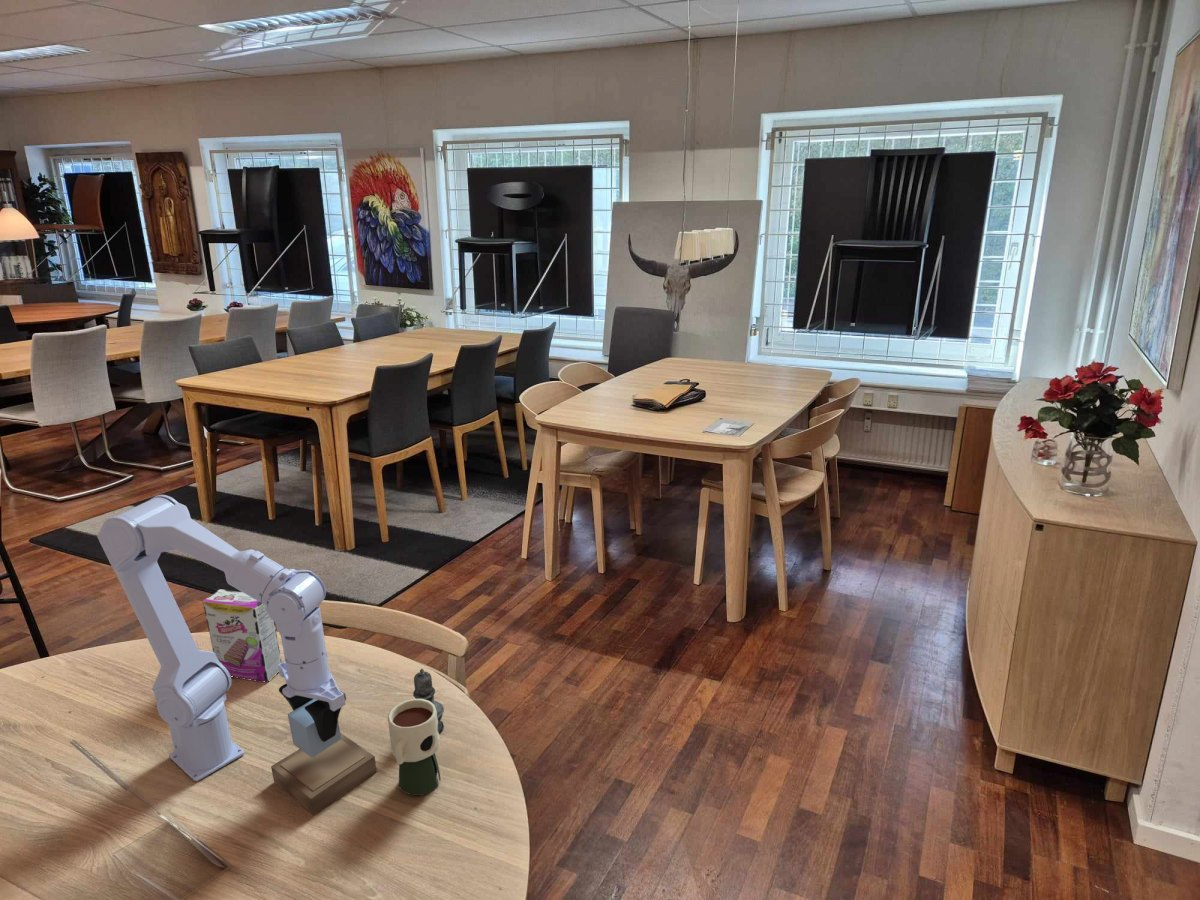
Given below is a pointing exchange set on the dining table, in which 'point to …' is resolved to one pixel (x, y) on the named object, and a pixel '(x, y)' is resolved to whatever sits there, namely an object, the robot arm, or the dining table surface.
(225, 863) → the dining table surface
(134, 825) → the dining table surface
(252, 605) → the candy bar box
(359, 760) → the walnut plinth
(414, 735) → the character mug
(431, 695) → the salt shaker
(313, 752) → the blue block
